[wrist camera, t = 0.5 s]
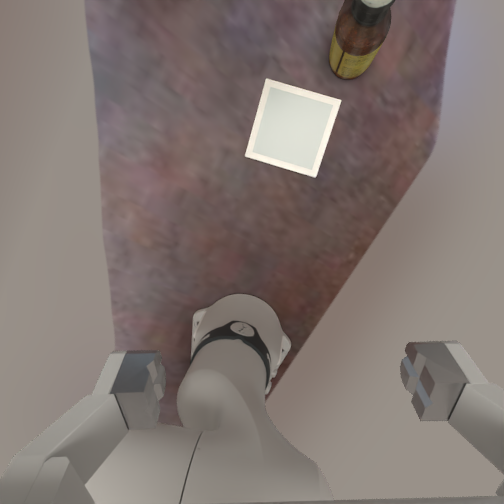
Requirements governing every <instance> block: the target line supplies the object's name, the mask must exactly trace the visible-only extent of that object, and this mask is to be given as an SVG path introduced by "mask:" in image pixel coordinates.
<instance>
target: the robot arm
mask: <svg viewBox="0 0 504 504" xmlns="http://www.w3.org/2000/svg"><path fill="white" fill-rule="evenodd" d="M198 322H199V324H198ZM290 348H291V341H290V339H289V338H288V336H287V335H286V334H285V333H284V332H283V330H282V328H281V325H280V322H279V319H278V317H277V315H276V313H275V312H274V310H273V309H272V308H271V307H270V306H269V305H268V304H267V303H266V302H264V301H263V300H261V299H259V298H257V297H255V296H251V295H247V294H233V295H229V296H226V297H224V298H222V299H220V300H218V301H217V302H216V303H214V304H213V305H212V306H210V307H208V308H204V309H200V310H198V311H196V312H195V313H194V316H193V326H192V346H191V362H190V367H189V369H188V371H187V373H186V375H185V377H184V379H183V381H182V383H181V385H180V387H179V390H178V394H177V410H178V414H179V417H180V420H181V422H182V425H183V427H180V426H174V425H169V424H164V423H159V422H157V420H158V416H159V412H160V406H159V402H158V401H159V400H160V399H161V398H162V397H163V396H164V391H165V385H166V372H165V368H164V366H162V365H161V364H160V363H161V359H162V356H161V353H160V351H158V350H137V351H113V352H112V353H111V354H110V355H109V357H108V359H107V361H106V363H105V365H104V368H103V370H102V372H101V374H100V377H99V379H98V381H97V383H96V385H95V388H94V390H93V392H92V394H91V395H86V396H85V397H84V398H82V399H81V400H80V401H79V402H78V403H76V404H75V405H74V406H73V407H72V408H70V409H69V410H68V411H67V412H66V413H65V414H63V415H62V416H61V417H60V418H59V419H57V420H56V421H55V422H54V423H53V424H51V425H50V426H49V427H48V428H47V429H46V430H44V431H43V432H42V433H41V434H40V435H38V436H37V437H36V438H35V439H34V440H32V441H31V442H30V443H29V444H28V445H26V446H25V447H24V448H23V449H22V450H21V451H19V452H18V453H17V454H16V455H15V456H13V458H12V460H11V462H10V463H9V465H8V467H7V469H6V470H5V472H4V474H3V476H2V477H1V479H0V504H504V480H503V481H502V483H501V484H500V486H499V487H498V489H497V491H496V494H497V495H498V496H479V497H478V496H477V497H442V498H441V497H439V498H403V499H362V500H334V498H333V495H332V492H331V489H330V487H329V484H328V482H327V480H326V478H325V476H324V475H323V473H322V471H321V469H320V468H319V467H318V465H317V464H316V463H315V462H314V461H313V460H311V459H310V458H308V457H307V456H306V455H304V454H303V453H301V452H300V451H299V450H298V449H296V448H295V447H294V446H293V445H292V444H291V443H290V442H289V441H288V440H287V439H286V438H285V437H284V436H283V435H282V434H281V433H280V432H279V431H278V429H277V428H276V427H275V425H274V424H273V422H272V421H271V419H270V417H269V416H268V414H267V411H266V408H265V394H268V392H269V391H270V388H271V385H272V382H271V381H270V380H271V379H272V377H273V378H274V377H275V376H276V374H277V369H278V367H279V366H280V364H281V363H282V361H283V359H284V358H285V356H286V355H287V353H288V351H289V350H290ZM282 349H284V350H283V351H282ZM405 352H406V354H407V357H405V358H404V359H402V362H401V366H400V371H401V378H402V381H403V384H404V386H405V389H406V390H408V391H409V392H410V393H411V394H413V398H412V404H413V406H414V408H415V410H416V413H417V414H418V417H419V419H420V421H448V423H449V424H450V425H451V426H452V427H454V429H456V430H457V431H458V432H459V433H460V434H461V435H462V436H463V437H464V438H465V439H466V440H467V441H468V442H469V443H471V444H472V445H473V446H474V447H475V448H476V449H477V450H478V451H479V452H480V453H481V454H482V455H483V456H485V457H486V458H487V459H488V460H489V461H490V462H491V463H492V464H493V465H494V466H495V467H496V468H497V469H498V470H500V471H501V472H502V473H503V474H504V389H502V388H501V387H499V386H498V385H496V384H495V383H489V382H488V381H487V380H486V378H485V377H484V375H483V374H482V373H481V371H480V370H479V369H478V367H477V366H476V364H475V363H474V362H473V360H472V359H471V358H470V356H469V355H468V353H467V352H466V351H465V349H464V348H463V346H462V345H461V344H460V343H459V342H458V341H440V342H439V341H429V342H409V343H408V344H407V345H406V348H405Z"/></svg>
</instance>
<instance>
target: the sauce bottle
mask: <svg viewBox="0 0 504 504" xmlns="http://www.w3.org/2000/svg"><path fill="white" fill-rule="evenodd" d="M394 1H395V0H345V1H344V4H343V6H342V8H341V10H340V12H339V16H338V19H337V22H336V26H335V31H334V35H333V39H332V44H331V48H330V54H329V63H330V65H331V68H332V70H333V72H334V73H335V74H336V75H337V76H338V77H340V78H342V79H354V78H356V77H358V76H359V75H361V74H362V73H363V72H364V71H365V70H366V69H367V68H368V67H369V66H370V64H371V62H372V60H373V59H374V57H375V55H376V54H377V52H378V50H379V48H380V47H381V45H382V43H383V42H384V40H385V38H386V36H387V34H388V31H389V28H390V24H391V10H390V7H391V5H392V4H393V3H394Z"/></svg>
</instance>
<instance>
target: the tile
mask: <svg viewBox="0 0 504 504" xmlns="http://www.w3.org/2000/svg"><path fill="white" fill-rule="evenodd" d="M340 103H341V100H339V99H335V98H332V97H329V96H325V95H322V94H318V93H315V92H311V91H308V90H304V89H301V88H297V87H294V86H291V85H287V84H284V83H280V82H277V81H273V80H270V79H266V81H265V85H264V88H263V92H262V96H261V99H260V103H259V107H258V110H257V114H256V117H255V121H254V125H253V128H252V132H251V136H250V139H249V143H248V147H247V150H246V154H245V157H248V158H252V159H255V160H258V161H262V162H265V163H268V164H272V165H275V166H278V167H282V168H285V169H288V170H292V171H295V172H298V173H302V174H305V175H308V176H312V177H315V178H316V175H317V172H318V169H319V166H320V163H321V160H322V157H323V154H324V151H325V148H326V145H327V142H328V139H329V136H330V133H331V130H332V127H333V124H334V121H335V118H336V115H337V112H338V109H339V106H340Z"/></svg>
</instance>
